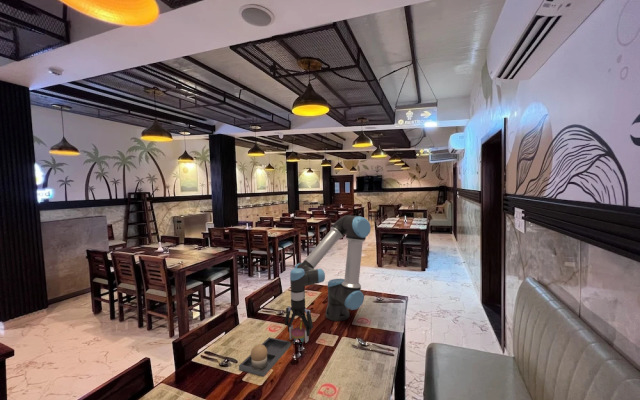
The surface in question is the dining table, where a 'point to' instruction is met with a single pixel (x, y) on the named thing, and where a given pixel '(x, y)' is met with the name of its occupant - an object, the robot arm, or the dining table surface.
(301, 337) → the cupcake
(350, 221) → the robot arm
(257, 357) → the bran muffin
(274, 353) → the dark grey tray
